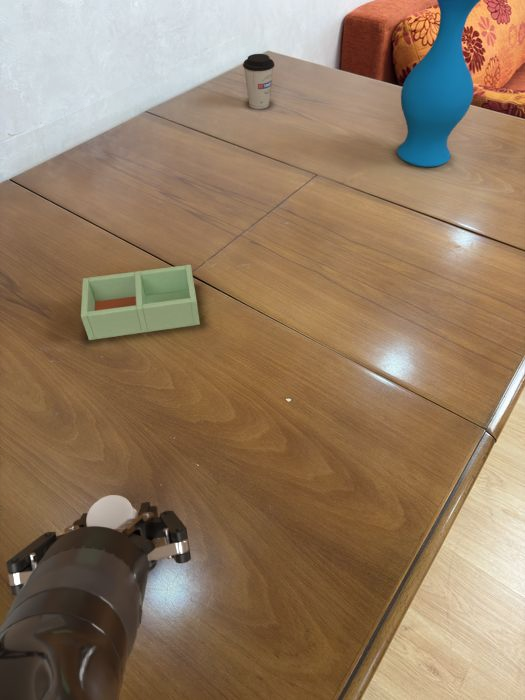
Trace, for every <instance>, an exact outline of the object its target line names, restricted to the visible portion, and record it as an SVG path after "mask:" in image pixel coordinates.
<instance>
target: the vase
mask: <svg viewBox="0 0 525 700" xmlns="http://www.w3.org/2000/svg"><path fill="white" fill-rule="evenodd" d="M436 1H437V4H438V8H439V14H440V15H439V16H440V17H439V25H438V30H437V33H436V37H435V39H434V41H433V43H432V45H431V47H430V48H429V50H428V52H427V53H426V54H425V55H424V56H423V57H422V59H421V60H419V62H418V63H417V64H416V65H414V67H413V68H412V69H411V71H410V72H409V73H408V75H407V77H405V80H404V82H403V84H402V88H401V92H400V106H401V111H402V114H403V116H404V119H405V120H404V121H405V123H406V126H407V127H406V128H407V133H406V134H407V135H406V137H405V140H404V141H403V142H402V143H401V144H400V145H399V146H398V148H397V149H396V153H397V155H398V157H399V158H400V159H401V160H402V161H403V162H406V163H408V164H410V165H413V166H416V167H422V168H433V167H439V166H442V165H444V164H446V163H448V162H449V160H450V159H451V153H450V150H449V148H448V138H449V136H450V135H451V134H452V132H453V130H454V129H455V128H456V126H457V125H458V124H459V123H460V122H461V121H462V119H463V118H464V117H465V116H466V114H467V113H468V111H469V109H470V107H471V104H472V103H473V102H472V101H473V98H474V91H475V90H474V89H475V87H474V81H473V76H472V75H471V71H470V69H469V68H468V65H467V62H466V59H465V56H464V51H463V33H464V29H465V25H466V22H467V20H468V17H469V15H470V13H471V12H472V11H473V10H474V8H475V7H476V6H477V4H478V3H480V2H481V0H436Z"/></svg>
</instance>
